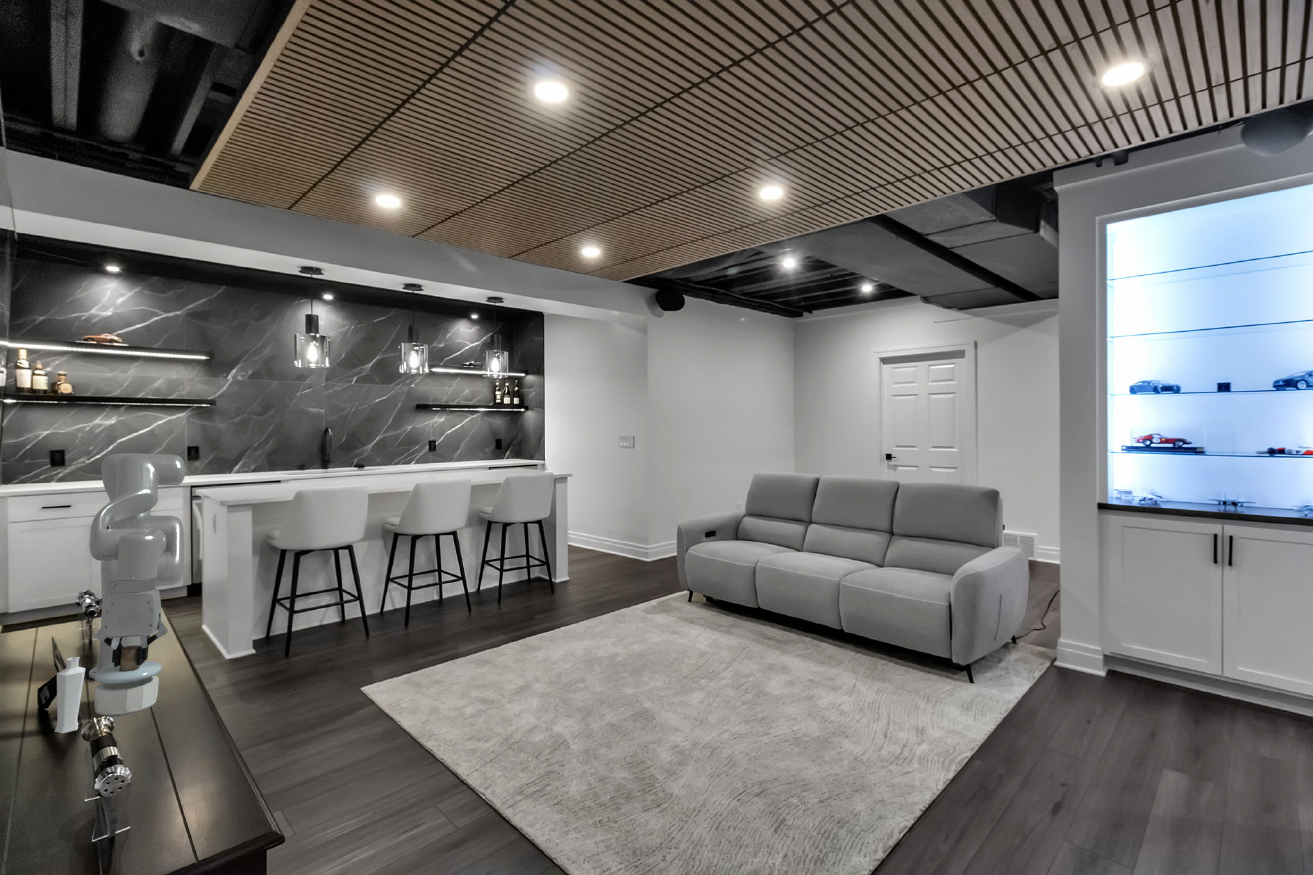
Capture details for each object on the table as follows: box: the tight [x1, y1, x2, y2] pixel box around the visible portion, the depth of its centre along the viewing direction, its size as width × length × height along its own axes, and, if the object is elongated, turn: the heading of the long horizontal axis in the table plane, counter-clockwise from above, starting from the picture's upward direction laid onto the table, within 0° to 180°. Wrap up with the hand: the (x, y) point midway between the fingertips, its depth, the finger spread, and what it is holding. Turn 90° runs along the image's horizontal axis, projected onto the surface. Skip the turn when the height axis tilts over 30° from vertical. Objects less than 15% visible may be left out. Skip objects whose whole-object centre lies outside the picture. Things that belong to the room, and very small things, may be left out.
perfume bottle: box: [54, 656, 86, 734], centre depth 136 cm, size 5×4×15 cm
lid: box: [94, 645, 163, 684], centre depth 148 cm, size 12×12×6 cm
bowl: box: [93, 675, 160, 717], centre depth 148 cm, size 11×11×6 cm
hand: (129, 663), depth 148 cm, fingers closed on lid, 3 cm apart
